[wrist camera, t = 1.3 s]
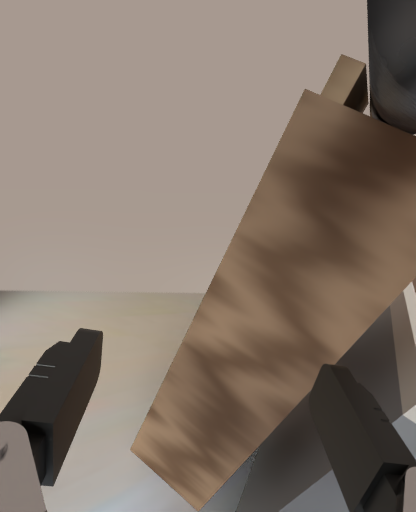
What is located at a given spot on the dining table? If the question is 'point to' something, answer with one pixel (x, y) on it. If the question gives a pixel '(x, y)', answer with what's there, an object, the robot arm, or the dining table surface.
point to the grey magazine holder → (306, 435)
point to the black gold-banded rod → (393, 62)
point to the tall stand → (289, 286)
